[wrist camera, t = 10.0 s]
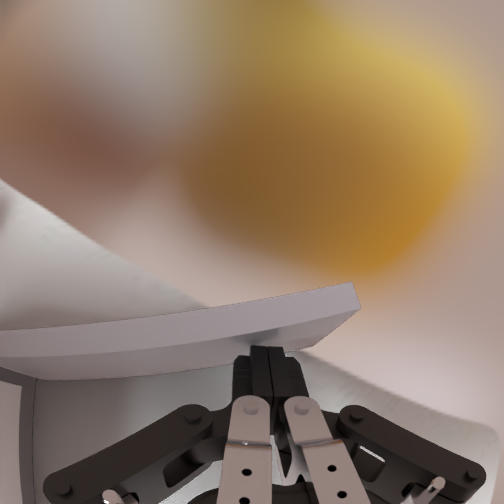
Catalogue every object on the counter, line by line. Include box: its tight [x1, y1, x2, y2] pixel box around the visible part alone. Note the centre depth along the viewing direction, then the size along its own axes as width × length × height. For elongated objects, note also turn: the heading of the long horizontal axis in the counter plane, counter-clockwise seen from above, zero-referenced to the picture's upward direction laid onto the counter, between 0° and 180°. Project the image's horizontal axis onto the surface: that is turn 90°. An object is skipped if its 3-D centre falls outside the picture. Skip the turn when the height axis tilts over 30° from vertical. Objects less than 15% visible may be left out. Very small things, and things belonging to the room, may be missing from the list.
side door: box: [0, 282, 361, 381], centre depth 13 cm, size 18×1×8 cm, turn 102°
